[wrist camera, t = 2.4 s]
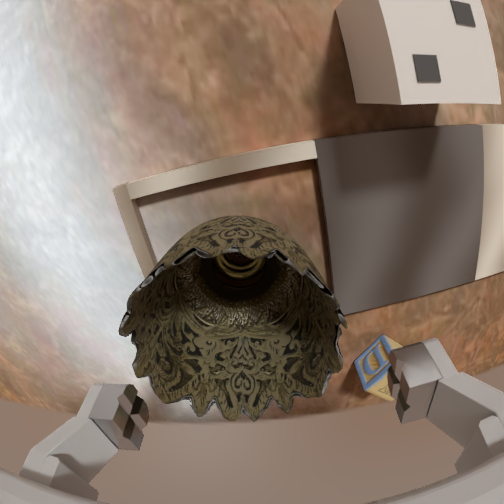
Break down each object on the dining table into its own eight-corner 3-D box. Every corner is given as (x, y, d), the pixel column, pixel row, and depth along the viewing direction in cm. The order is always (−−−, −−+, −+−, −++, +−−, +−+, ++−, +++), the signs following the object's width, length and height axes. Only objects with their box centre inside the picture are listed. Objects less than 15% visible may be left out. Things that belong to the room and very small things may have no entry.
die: (356, 103, 13) (402, 104, 9) (335, 8, 11) (370, -28, 7) (440, 98, 13) (502, 104, 8) (422, 11, 11) (478, -10, 6)
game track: (175, 337, 19) (173, 343, 19) (116, 185, 15) (112, 188, 15) (551, 248, 17) (556, 251, 16) (561, 126, 13) (567, 127, 12)
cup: (304, 308, 18) (329, 420, 11) (179, 308, 18) (147, 418, 11) (314, 182, 15) (369, 254, 8) (164, 183, 15) (95, 256, 8)
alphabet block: (383, 331, 20) (398, 362, 17) (408, 347, 20) (423, 376, 18) (352, 360, 21) (362, 392, 18) (378, 373, 21) (390, 403, 19)
